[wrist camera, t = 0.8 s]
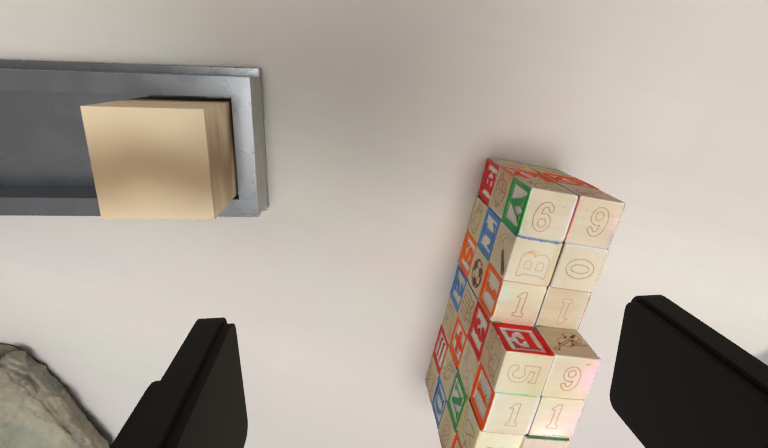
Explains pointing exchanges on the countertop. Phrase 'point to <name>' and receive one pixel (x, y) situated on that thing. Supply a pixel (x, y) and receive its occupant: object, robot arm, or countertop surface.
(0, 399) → the long grey stone
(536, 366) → the stack of blocks
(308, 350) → the countertop surface
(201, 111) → the block
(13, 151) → the chute
